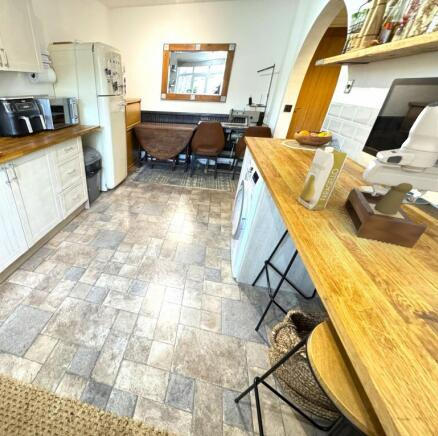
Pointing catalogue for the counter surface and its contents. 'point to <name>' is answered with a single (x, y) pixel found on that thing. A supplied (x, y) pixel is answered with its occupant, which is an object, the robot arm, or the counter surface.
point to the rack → (380, 220)
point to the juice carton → (322, 178)
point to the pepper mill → (393, 198)
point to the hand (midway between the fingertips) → (391, 198)
